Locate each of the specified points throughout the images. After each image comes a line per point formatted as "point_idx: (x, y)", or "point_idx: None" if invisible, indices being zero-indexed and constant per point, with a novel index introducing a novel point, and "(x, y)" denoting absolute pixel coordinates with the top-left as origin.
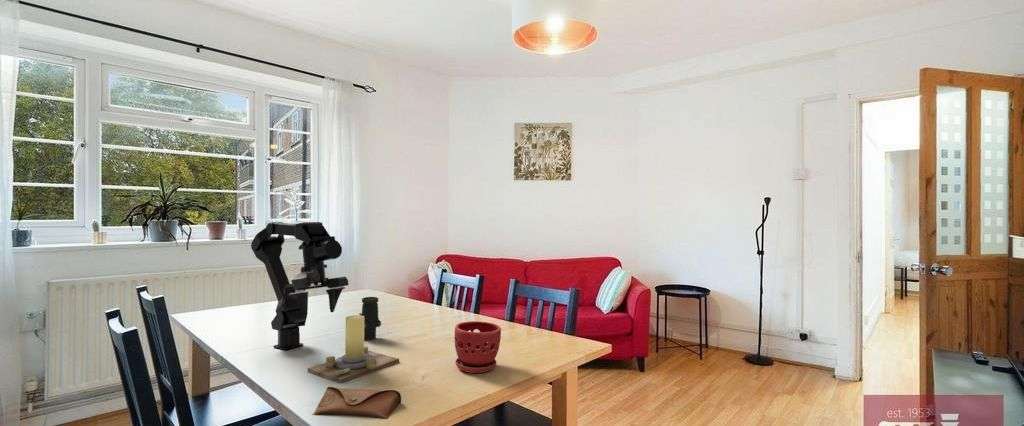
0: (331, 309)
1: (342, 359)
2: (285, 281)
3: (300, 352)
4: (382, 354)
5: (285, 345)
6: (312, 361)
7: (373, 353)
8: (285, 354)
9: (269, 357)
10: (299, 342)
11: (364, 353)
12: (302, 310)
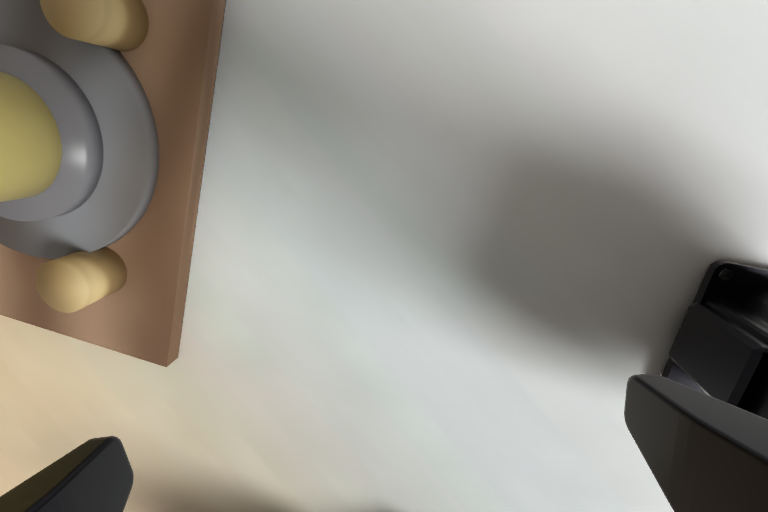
0: (49, 467)
1: (31, 56)
2: None
3: (578, 260)
4: (40, 325)
5: (758, 295)
6: (366, 130)
7: (95, 327)
8: (657, 190)
9: (737, 90)
10: (678, 364)
11: (1, 211)
12: (728, 417)
